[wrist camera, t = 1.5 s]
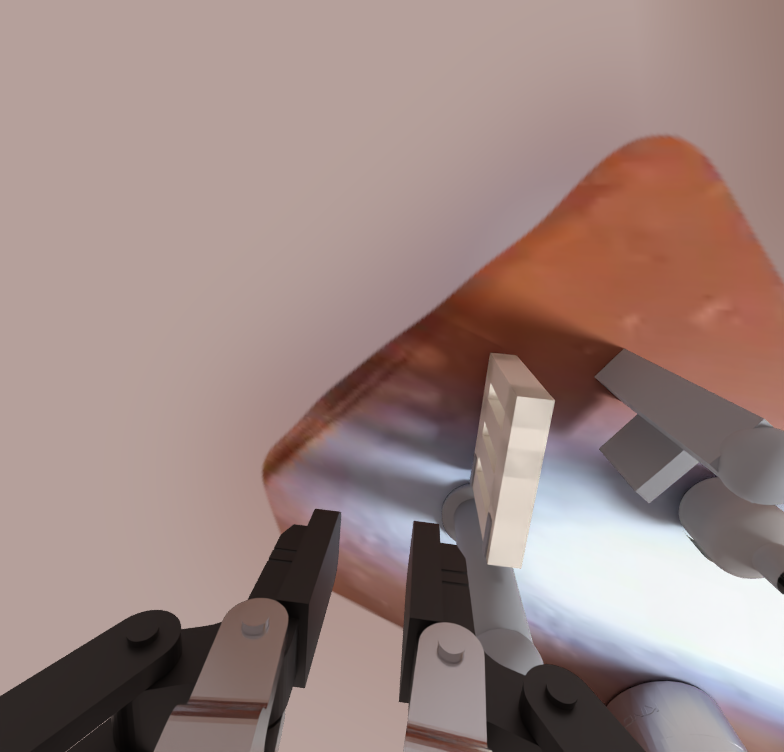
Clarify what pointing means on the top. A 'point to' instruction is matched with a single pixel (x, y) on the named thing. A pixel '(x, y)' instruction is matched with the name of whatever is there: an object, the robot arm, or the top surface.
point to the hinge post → (490, 589)
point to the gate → (509, 457)
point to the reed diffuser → (735, 531)
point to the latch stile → (688, 434)
